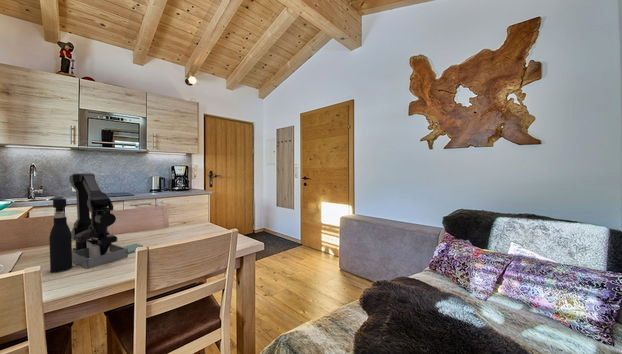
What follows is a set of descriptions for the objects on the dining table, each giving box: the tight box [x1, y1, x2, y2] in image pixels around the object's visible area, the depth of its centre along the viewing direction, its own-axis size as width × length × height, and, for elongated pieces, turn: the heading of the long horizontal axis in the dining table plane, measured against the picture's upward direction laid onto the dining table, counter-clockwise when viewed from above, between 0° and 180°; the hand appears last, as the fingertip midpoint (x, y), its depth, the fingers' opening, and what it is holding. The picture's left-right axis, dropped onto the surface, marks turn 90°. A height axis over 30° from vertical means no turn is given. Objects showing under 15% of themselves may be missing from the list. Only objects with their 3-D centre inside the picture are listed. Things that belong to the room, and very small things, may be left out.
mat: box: [123, 243, 144, 255], centre depth 125 cm, size 11×9×1 cm
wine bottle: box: [48, 198, 73, 274], centre depth 99 cm, size 6×6×30 cm
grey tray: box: [72, 243, 129, 270], centre depth 112 cm, size 17×15×4 cm
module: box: [88, 244, 111, 259], centre depth 112 cm, size 4×6×7 cm
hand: (100, 255), depth 112 cm, fingers closed on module, 4 cm apart
